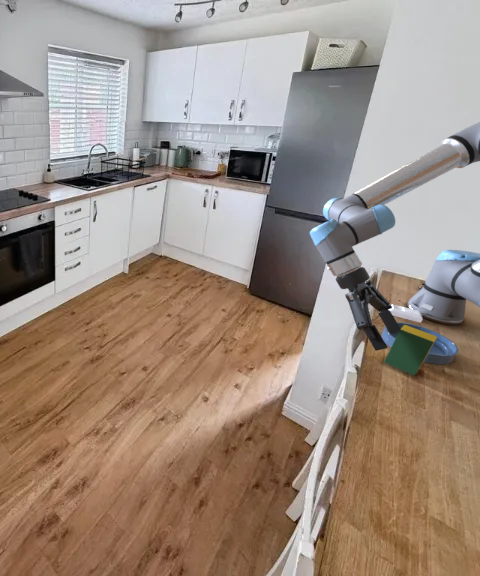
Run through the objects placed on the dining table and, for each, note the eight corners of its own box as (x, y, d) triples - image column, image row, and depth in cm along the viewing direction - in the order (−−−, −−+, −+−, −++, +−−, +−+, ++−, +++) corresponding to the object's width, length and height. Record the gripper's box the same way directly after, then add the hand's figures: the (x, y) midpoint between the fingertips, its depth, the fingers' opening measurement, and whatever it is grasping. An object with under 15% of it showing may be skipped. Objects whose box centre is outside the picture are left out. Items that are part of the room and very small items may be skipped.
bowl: (389, 325, 120) (394, 316, 118) (457, 351, 109) (463, 341, 107) (373, 343, 110) (377, 334, 108) (445, 373, 99) (451, 363, 97)
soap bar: (420, 323, 122) (423, 317, 121) (387, 315, 126) (390, 308, 125) (418, 317, 126) (421, 310, 125) (386, 309, 130) (389, 303, 129)
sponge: (388, 357, 104) (404, 324, 99) (418, 370, 99) (437, 336, 94) (383, 363, 101) (400, 329, 97) (414, 376, 97) (433, 342, 92)
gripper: (350, 267, 115) (387, 329, 111) (318, 287, 100) (359, 360, 97) (376, 257, 109) (416, 322, 105) (346, 277, 94) (391, 353, 91)
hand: (389, 340), depth 101 cm, fingers open, 13 cm apart
